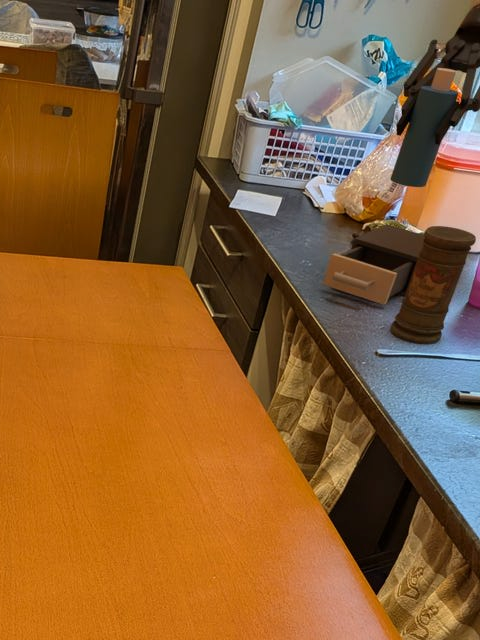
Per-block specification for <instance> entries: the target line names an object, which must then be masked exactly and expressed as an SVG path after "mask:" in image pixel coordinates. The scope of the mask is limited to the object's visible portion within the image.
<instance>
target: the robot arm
mask: <svg viewBox="0 0 480 640" xmlns="http://www.w3.org/2000/svg"><path fill="white" fill-rule="evenodd" d="M443 53H445V55H443V57H442V58H441V60H440V61H439V62H438V64H436V65H435V66H433V65H434V63H435V61H436V60H438V59H439V57H440V56H441V55H442V54H443ZM432 66H433V68H432ZM431 68H432V69H431ZM437 68H445V69H451V70H455V71H456V72H458V71H459V72H462V73H463V74H465V78H464V83H463V87H462V88H463V89H462V92H461V97H460V101H458V100H456V101H455V102H454V104H453V105H452V107H451V109H450V110H449V112H448V113H447V115H446V117H445V118H444V120H443V121H442V123H441V125H440V126H439V128H438V130H437V131H436V133H435V144H437V145H439V144H440V143H441V144H442V142H443V140H444V138H445V136H446V135H447V133H448V131H449V130H450V128H451V127H453V128H456V127H457V126H458V125H459V124H460V122H461V120H462V118H463V117H464V115H465V114H466V113H467V112H469V111H472V112H473V113H477V112H479V111H480V85H479V86H478V88H477V89H476V92H475V94H474V95H473V97H471V96H472V91H473V86H474V83H475V78H476V73H477V69H479V68H480V0H474V2H473V3H472V4H471V6H470V8H469V9H468V11H467V14H466V15H465V17H464V18H463V20H462V21H461V22H460V24H459V26H458V28H457V29H456V32H455V33H454V35H453V37H451V38H450V39H448V40H447V42H442V43H441V42H438V40H437V39H432V40H431V41H430V42H429V45H428V49H427V51H426V53H425V54H423V57H422V58H421V60H420V61H419V62H418V64H417V65H416V67H415V68H414V69H413V71H412V72H411V73H410V74H409V75H408V77H407V79H405V81H404V82H403V97H404V98H406V99H405V101H404V102H403V104H402V106H401V116H400V117H399V119H398V120H397V123H396V125H395V126H396V136H399V137H401V136H402V135H403V133H404V131H406V129H407V127H408V124H409V121H410V118H411V115H412V112H413V109H414V106H415V103H416V100H417V97H418V94H419V91H420V88H421V87H422V86H431V85H432V82H433V79H434V76H435V73H436V70H437ZM430 69H431V70H430ZM441 141H442V142H441ZM441 144H440V145H441Z"/></svg>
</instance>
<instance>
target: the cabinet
mask: <svg viewBox="0 0 480 640" xmlns="http://www.w3.org/2000/svg"><path fill="white" fill-rule="evenodd" d="M424 239H425V236H424V233H423V234H422V233H419V232H415V231H412V230H408V229H405V228H402V227H398V226H394V225H391V224H384V225H382V226H379V227H377V228H375V229H372V230H370V231H368V232H366V233H364V234H361V235H359V236H357V237H354V238H353V241H352V244H351V248H350V250H352V249H354V248H356V247H359V246H361V245H362V246H366V247H369V248H372V249H375V250H379V251H382V252H385V253H389V254H392V255H395V256H398V257H402V258H405V259H408V260H412V261H415V262H416V263H417V261H418V258H419V253H420V252H421V250H422V248H423V243H424V242H423V240H424ZM416 263H415V266H416ZM415 266H414V269H415ZM414 269H413V271H412V274H411V277H410V279H409V282H408V285H407V287H406V288H405V289H403V290H401V291H399V292H398V293H396V294H395V295H398V296H402V297H404V298H405V295H406V292H407V290H408V287H409V284H410V281H411V278H412V275H413V272H414Z"/></svg>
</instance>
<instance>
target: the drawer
mask: <svg viewBox="0 0 480 640" xmlns="http://www.w3.org/2000/svg"><path fill="white" fill-rule="evenodd" d="M415 263H416V262H415V261H412V260H408V259H405V258H402V257H398V256H395V255H392V254H389V253H385V252H382V251H379V250H375V249H372V248H369V247H366V246H362V245H361V246H359V247H356V248H354V249H352V250H351V249H350V250H348V251H347V250H346V251H345V252H342V253H341V254H338V253H334V252H333V253H332V254H331V257H330V259H329V262H328V266H327V269H326V272H325V275H324V278H323V281H322V285H323V286H326V287H328V288H332V289H335V290H338V291H340V292H344V293H347V294H350V295H353V296H356V297H359V298H363V299H365V300H368V301H370V302H373V303H377V304H380V305H383V306H384V305H386V304H387V303H388V300H389V298H390V297H393V296H394V295H397V294H396V293H398V292H399V291H401V290H403V289H405V288H406V287H407V285H408V282H409V279H410V277H411V274H412V271H413V269H414V266H415Z"/></svg>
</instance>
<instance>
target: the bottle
mask: <svg viewBox="0 0 480 640" xmlns="http://www.w3.org/2000/svg"><path fill="white" fill-rule="evenodd" d="M456 73H457V71H455V70H451V69H445V68H437V70H436V73H435V76H434V79H433V82H432V85H431V86H422V87H421V88H420V91H419V94H418V97H417V100H416V103H415V106H414V109H413V112H412V115H411V118H410V121H409V123H408V125H407V126H406V129H405V134H404V137H403V140H402V143H401V145H400V148H399V152H398V153H397V157H396V160H395V164H394V167H393V169H392V173H391V175H390V179H389V180H390V181H391V182H393V183H395V184H397V185H401V186H406V187H411V188H424V187H426V186H427V183H428V180H429V178H430V175H431V172H432V169H433V166H434V164H435V160H436V158H437V155H438V153H439V151H440V147H441V144H442V142H443V140H442V141H441V143H440V144H439V145H437V144H435V133H436V131H437V130H438V128H439V126H440V125H441V123H442V121H443V120H444V118H445V117H446V115H447V113H448V112H449V110H450V109H451V107H452V105H453V104H454V102H455V101H458V96H459V94H460V93H459V92H458V91H457V90H455V89H451V88H452V85H453V83H454V79H455V76H456Z"/></svg>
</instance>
